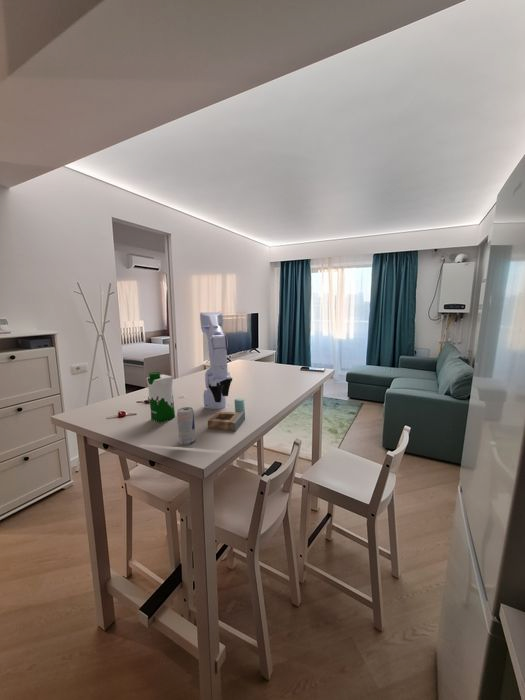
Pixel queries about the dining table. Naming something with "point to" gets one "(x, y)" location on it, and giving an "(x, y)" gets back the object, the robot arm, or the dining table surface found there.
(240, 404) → the dowel
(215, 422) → the socket block
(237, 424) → the board
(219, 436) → the dining table surface
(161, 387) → the milk carton
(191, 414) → the energy drink
